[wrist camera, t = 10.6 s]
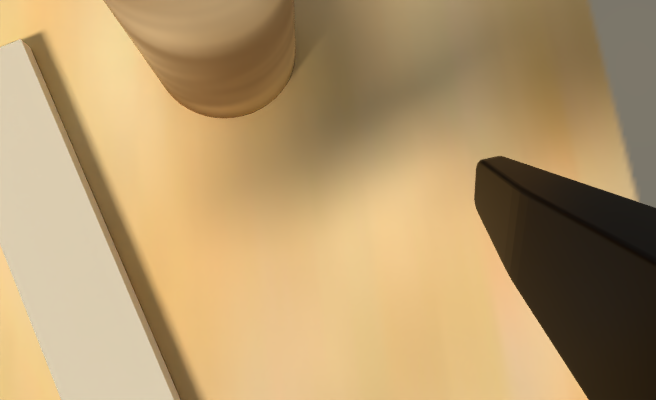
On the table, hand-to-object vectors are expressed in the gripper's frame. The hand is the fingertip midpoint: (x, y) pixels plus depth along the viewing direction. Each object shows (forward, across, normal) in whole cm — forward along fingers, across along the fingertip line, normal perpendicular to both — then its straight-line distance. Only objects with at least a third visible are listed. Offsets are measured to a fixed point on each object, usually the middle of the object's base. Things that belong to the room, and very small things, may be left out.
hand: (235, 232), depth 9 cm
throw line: (+6, +6, +5) cm, 10 cm away
